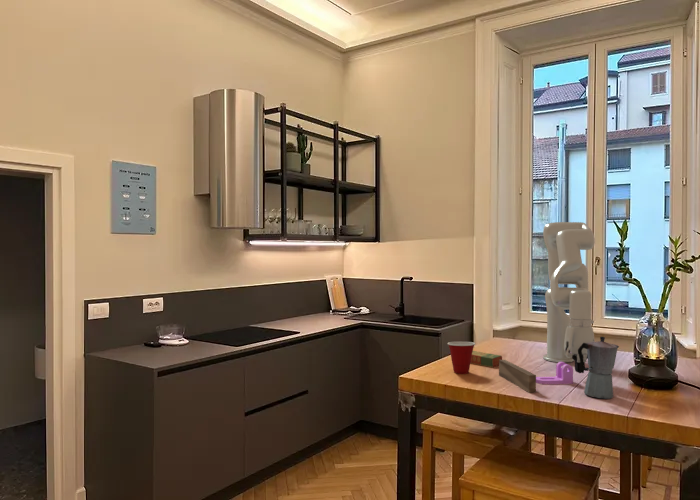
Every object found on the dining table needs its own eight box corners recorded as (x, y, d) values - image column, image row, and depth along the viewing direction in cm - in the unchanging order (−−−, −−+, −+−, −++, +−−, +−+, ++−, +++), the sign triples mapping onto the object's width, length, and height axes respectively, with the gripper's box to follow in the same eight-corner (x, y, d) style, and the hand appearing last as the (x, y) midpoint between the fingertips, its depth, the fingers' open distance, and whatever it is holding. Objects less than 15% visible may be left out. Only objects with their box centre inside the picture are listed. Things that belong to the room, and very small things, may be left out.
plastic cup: (468, 368, 219) (468, 339, 219) (479, 375, 209) (479, 344, 208) (443, 369, 217) (443, 339, 217) (452, 376, 207) (452, 345, 207)
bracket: (565, 379, 202) (565, 361, 202) (572, 383, 196) (573, 365, 196) (532, 380, 201) (532, 362, 201) (538, 384, 195) (538, 365, 195)
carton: (469, 359, 238) (469, 349, 238) (502, 365, 227) (502, 354, 227) (459, 362, 232) (459, 352, 232) (492, 368, 221) (492, 357, 221)
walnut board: (505, 374, 209) (505, 359, 208) (535, 392, 185) (536, 375, 185) (498, 375, 208) (499, 359, 208) (529, 392, 184) (529, 375, 184)
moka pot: (627, 398, 179) (628, 338, 178) (589, 402, 174) (589, 340, 174) (606, 390, 188) (607, 333, 187) (569, 393, 183) (569, 335, 183)
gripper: (592, 321, 205) (591, 369, 205) (556, 322, 202) (555, 370, 203) (604, 324, 198) (604, 373, 198) (567, 325, 195) (566, 375, 195)
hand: (579, 372), depth 200 cm, fingers closed
